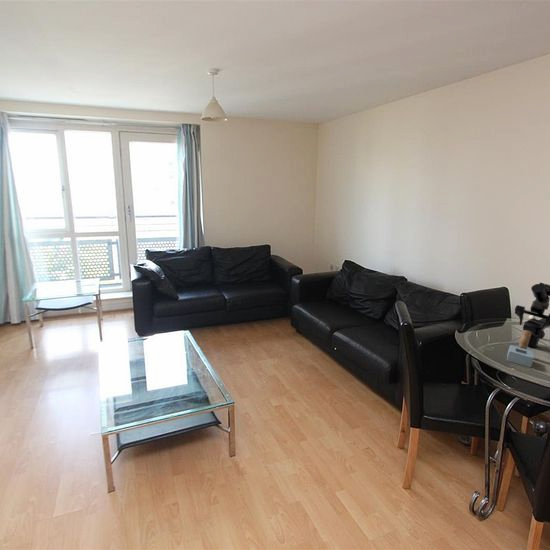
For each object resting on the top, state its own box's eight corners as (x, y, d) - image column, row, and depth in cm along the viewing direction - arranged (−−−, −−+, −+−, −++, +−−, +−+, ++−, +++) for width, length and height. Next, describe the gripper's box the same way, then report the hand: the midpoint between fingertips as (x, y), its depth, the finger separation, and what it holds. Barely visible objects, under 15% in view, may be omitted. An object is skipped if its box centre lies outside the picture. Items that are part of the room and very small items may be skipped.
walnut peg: (520, 353, 194) (527, 330, 191) (526, 356, 191) (533, 332, 188) (514, 353, 194) (521, 329, 190) (520, 356, 190) (527, 332, 187)
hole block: (507, 353, 192) (510, 344, 191) (530, 360, 187) (533, 351, 185) (506, 360, 184) (509, 351, 182) (530, 367, 179) (533, 358, 177)
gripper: (520, 290, 199) (510, 313, 194) (563, 300, 187) (553, 325, 182) (520, 302, 207) (509, 324, 202) (561, 312, 194) (551, 337, 189)
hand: (530, 327), depth 193 cm, fingers open, 9 cm apart
